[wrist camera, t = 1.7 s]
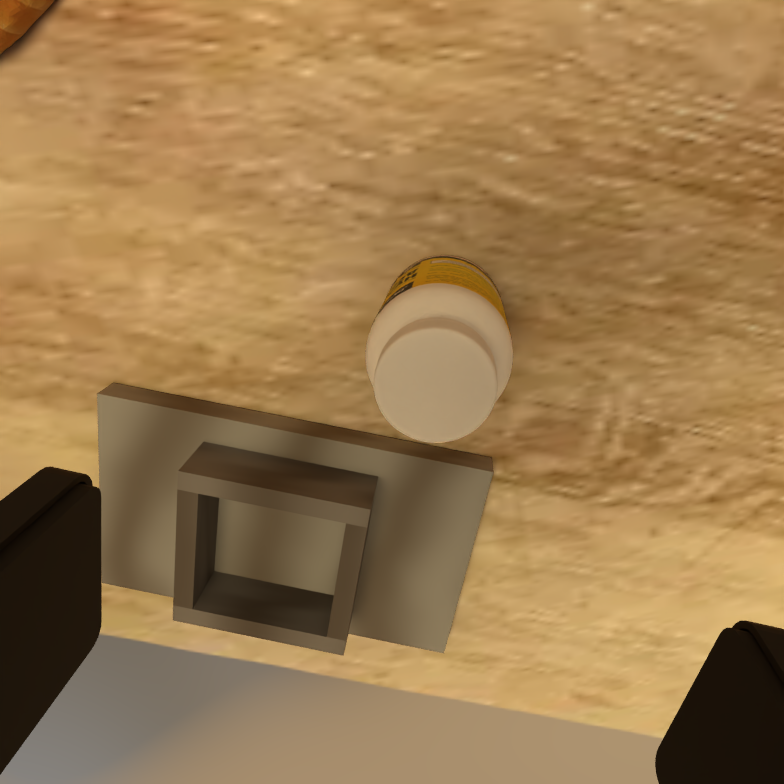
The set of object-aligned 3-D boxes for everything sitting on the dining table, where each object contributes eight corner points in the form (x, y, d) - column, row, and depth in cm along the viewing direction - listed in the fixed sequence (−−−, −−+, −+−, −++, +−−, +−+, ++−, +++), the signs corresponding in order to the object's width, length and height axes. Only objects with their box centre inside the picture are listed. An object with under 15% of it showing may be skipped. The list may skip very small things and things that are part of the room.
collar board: (491, 457, 30) (497, 506, 26) (444, 633, 35) (442, 698, 31) (113, 382, 31) (60, 418, 27) (115, 565, 35) (70, 620, 31)
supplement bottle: (409, 235, 27) (386, 277, 18) (520, 279, 27) (554, 343, 18) (369, 342, 29) (330, 429, 20) (472, 382, 29) (481, 486, 20)
